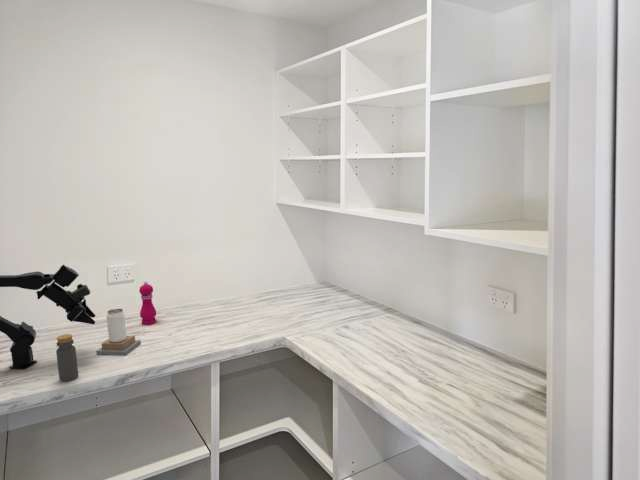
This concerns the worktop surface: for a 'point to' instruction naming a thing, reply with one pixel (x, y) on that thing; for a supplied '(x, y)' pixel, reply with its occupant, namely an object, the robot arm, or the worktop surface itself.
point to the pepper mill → (147, 304)
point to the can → (116, 325)
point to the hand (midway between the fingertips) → (94, 319)
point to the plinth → (120, 352)
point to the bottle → (66, 358)
